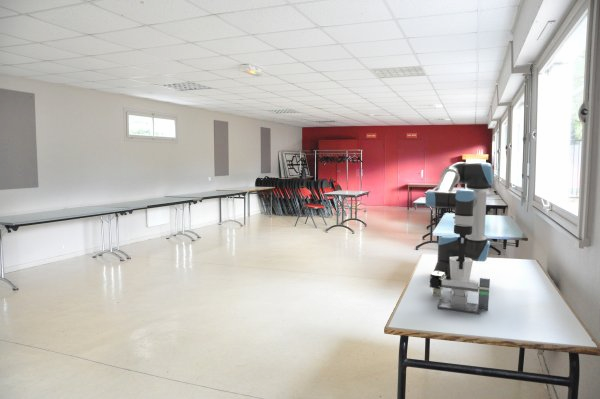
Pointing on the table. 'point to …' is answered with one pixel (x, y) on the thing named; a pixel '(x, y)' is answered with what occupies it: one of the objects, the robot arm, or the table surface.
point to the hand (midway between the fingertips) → (460, 272)
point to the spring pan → (461, 286)
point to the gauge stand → (461, 301)
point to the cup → (466, 270)
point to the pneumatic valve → (437, 282)
